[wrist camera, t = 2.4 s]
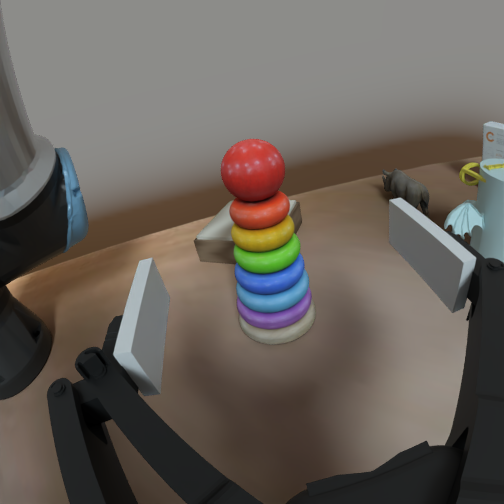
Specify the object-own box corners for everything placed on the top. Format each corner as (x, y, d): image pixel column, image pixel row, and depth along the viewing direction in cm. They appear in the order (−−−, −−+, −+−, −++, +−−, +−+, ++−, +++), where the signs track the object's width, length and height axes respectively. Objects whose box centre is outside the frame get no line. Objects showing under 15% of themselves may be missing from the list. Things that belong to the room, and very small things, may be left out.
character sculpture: (508, 230, 36) (520, 146, 29) (555, 272, 26) (580, 178, 19) (407, 259, 37) (412, 156, 30) (454, 319, 27) (481, 198, 20)
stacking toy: (293, 359, 28) (255, 158, 18) (226, 333, 33) (169, 160, 23) (328, 305, 33) (310, 127, 24) (266, 288, 38) (231, 131, 28)
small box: (519, 191, 45) (525, 129, 38) (514, 201, 42) (521, 133, 36) (487, 180, 51) (490, 120, 44) (479, 188, 49) (482, 123, 42)
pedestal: (200, 261, 46) (192, 237, 44) (234, 220, 55) (229, 199, 53) (278, 267, 41) (273, 240, 39) (302, 222, 50) (298, 199, 48)
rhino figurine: (393, 189, 54) (392, 158, 51) (434, 221, 43) (436, 185, 40) (374, 192, 55) (373, 161, 51) (413, 226, 43) (414, 189, 40)
